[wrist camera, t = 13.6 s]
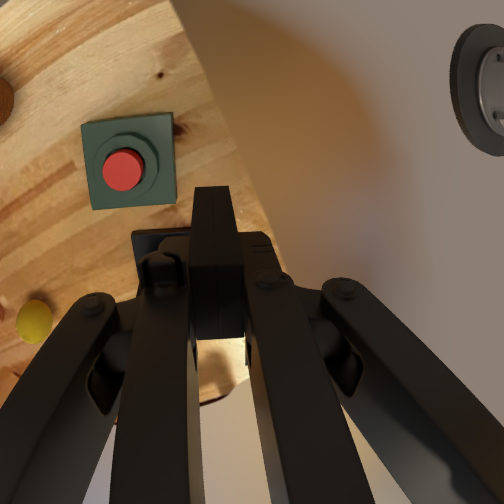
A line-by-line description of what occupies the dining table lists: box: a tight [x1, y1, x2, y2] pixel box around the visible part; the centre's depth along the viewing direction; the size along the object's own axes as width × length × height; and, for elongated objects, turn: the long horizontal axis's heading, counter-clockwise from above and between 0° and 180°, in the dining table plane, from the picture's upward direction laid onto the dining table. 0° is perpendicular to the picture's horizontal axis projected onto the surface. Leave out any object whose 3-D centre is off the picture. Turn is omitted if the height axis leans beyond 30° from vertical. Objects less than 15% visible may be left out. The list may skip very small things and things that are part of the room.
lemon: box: [16, 300, 53, 344], centre depth 38 cm, size 6×6×8 cm
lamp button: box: [103, 149, 144, 191], centre depth 30 cm, size 4×4×2 cm
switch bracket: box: [131, 227, 191, 297], centre depth 36 cm, size 10×8×12 cm
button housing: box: [81, 112, 177, 210], centre depth 32 cm, size 10×10×4 cm
